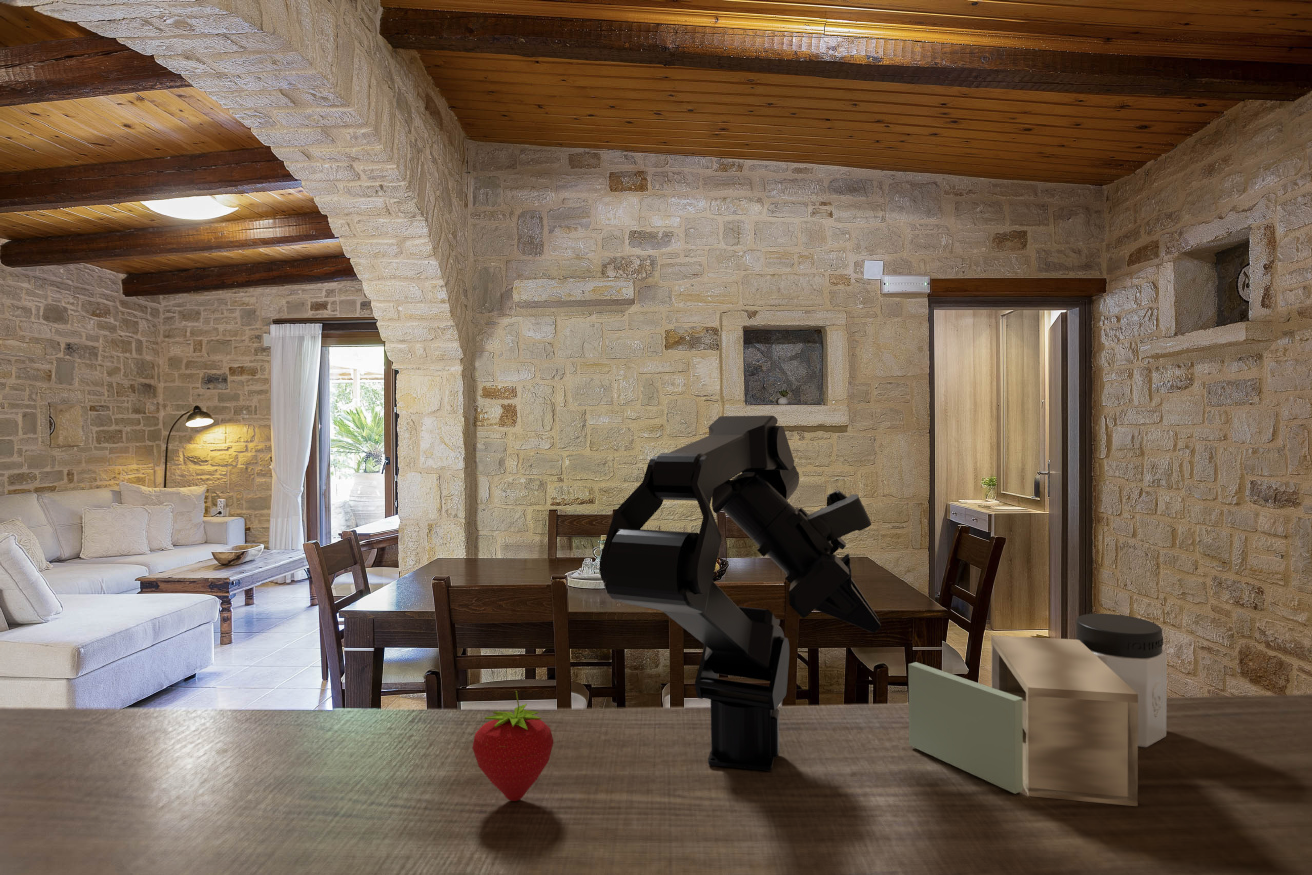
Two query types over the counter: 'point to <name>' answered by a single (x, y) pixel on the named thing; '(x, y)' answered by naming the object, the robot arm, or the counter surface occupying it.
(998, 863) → the counter surface
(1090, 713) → the cabinet
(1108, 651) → the jar
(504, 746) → the strawberry
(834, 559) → the robot arm
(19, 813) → the counter surface
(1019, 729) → the door
